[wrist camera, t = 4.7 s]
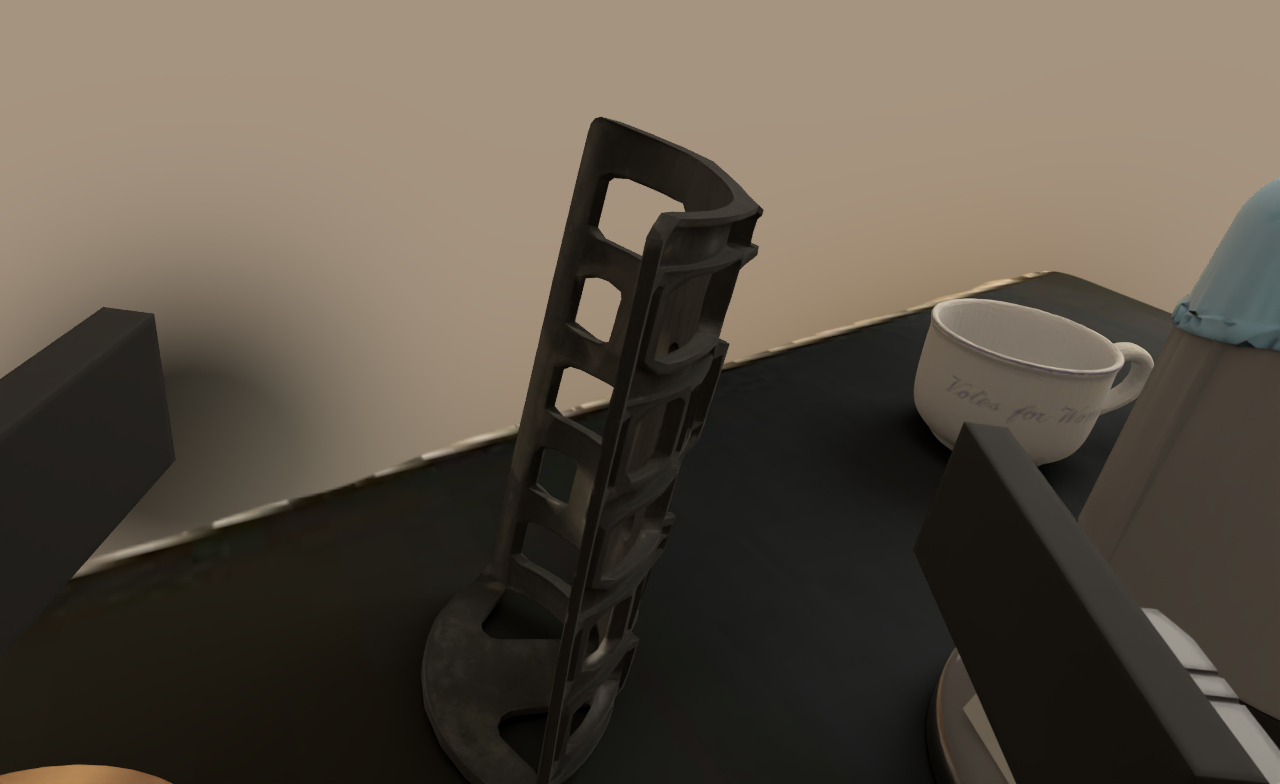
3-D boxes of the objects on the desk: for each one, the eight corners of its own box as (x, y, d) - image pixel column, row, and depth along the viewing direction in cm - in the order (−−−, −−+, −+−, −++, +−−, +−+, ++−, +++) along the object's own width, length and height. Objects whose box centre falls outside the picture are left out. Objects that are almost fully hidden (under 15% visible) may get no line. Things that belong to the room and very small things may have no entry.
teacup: (908, 471, 48) (953, 348, 44) (886, 384, 58) (921, 277, 54) (1151, 519, 47) (1219, 399, 43) (1089, 423, 57) (1140, 317, 53)
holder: (393, 591, 34) (462, 89, 25) (565, 573, 37) (681, 126, 28) (454, 843, 25) (593, 221, 16) (669, 788, 29) (882, 251, 20)
